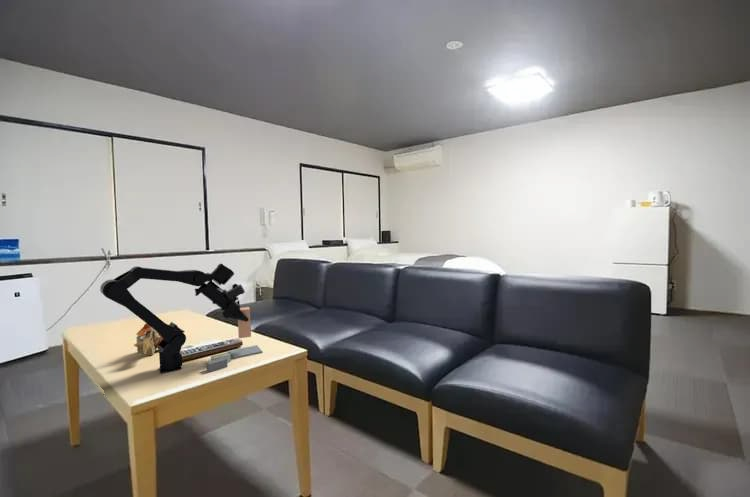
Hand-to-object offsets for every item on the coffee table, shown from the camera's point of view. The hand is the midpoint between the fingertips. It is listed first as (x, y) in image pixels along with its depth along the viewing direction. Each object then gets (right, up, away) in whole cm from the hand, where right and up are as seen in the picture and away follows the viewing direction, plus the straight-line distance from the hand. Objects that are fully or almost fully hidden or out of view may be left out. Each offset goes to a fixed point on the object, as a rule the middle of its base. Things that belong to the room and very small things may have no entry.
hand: (247, 319), depth 140 cm
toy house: (-39, -15, 0) cm, 41 cm away
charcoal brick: (-5, -15, -15) cm, 22 cm away
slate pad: (-1, -13, 0) cm, 13 cm away
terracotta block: (-1, -7, 0) cm, 7 cm away
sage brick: (-6, -14, -10) cm, 18 cm away
